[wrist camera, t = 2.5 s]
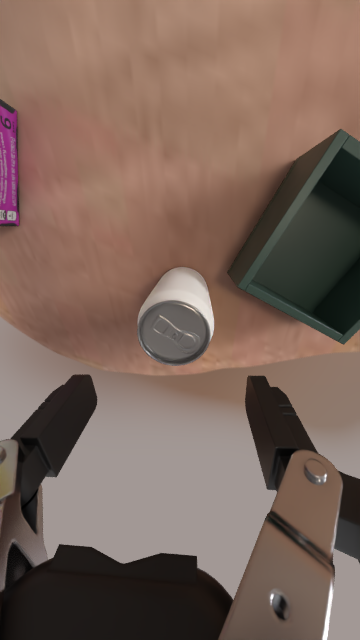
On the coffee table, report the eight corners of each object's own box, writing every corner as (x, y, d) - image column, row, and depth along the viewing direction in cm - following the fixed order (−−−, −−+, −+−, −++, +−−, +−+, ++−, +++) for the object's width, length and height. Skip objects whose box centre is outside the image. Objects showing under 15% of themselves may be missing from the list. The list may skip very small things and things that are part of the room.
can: (189, 323, 28) (184, 382, 17) (148, 297, 27) (117, 343, 16) (218, 285, 26) (234, 326, 15) (175, 255, 25) (159, 276, 14)
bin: (226, 272, 25) (237, 287, 19) (296, 158, 20) (341, 127, 14) (309, 318, 27) (343, 344, 21) (393, 222, 22) (471, 220, 16)
